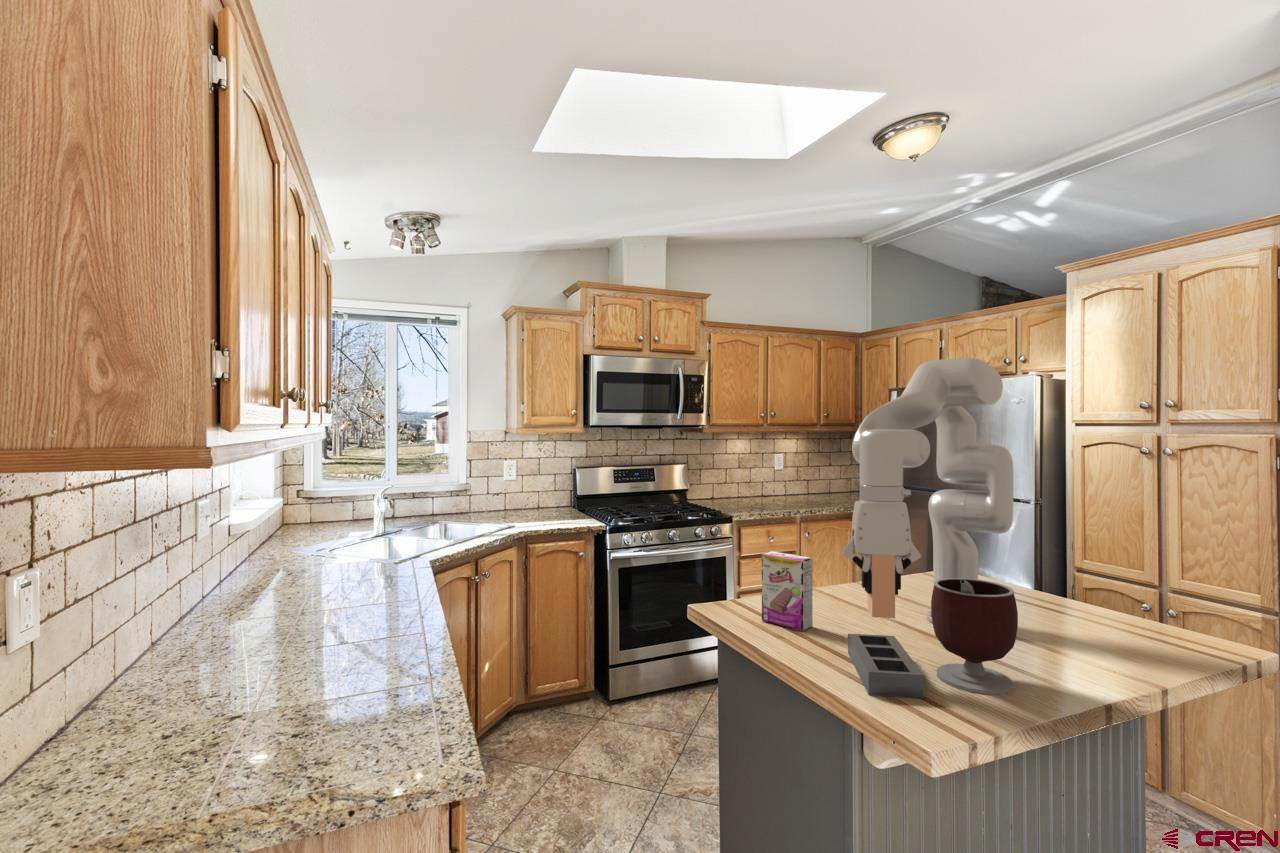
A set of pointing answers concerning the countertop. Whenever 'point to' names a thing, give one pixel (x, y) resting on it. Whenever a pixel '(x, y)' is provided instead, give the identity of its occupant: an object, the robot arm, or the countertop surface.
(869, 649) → the rail
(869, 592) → the robot arm
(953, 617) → the mate gourd
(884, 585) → the square peg
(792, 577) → the candy bar box
